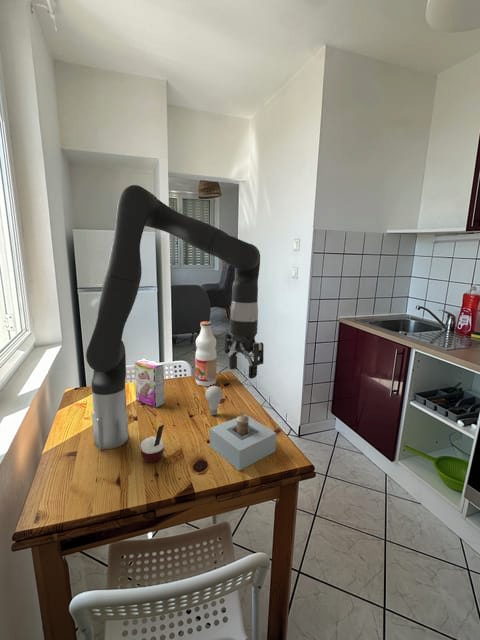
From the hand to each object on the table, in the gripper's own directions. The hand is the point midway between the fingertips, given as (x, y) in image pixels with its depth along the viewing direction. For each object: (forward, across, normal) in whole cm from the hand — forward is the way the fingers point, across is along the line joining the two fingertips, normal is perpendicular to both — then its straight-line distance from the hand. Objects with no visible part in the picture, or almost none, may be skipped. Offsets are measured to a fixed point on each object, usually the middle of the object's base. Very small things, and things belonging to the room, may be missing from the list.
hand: (242, 373), depth 90 cm
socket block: (+24, 0, 0) cm, 24 cm away
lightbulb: (+24, -22, +5) cm, 33 cm away
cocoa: (+24, -11, -23) cm, 35 cm away
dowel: (+24, 0, 0) cm, 24 cm away
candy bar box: (+24, -44, -9) cm, 52 cm away
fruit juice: (+24, -48, +19) cm, 57 cm away
